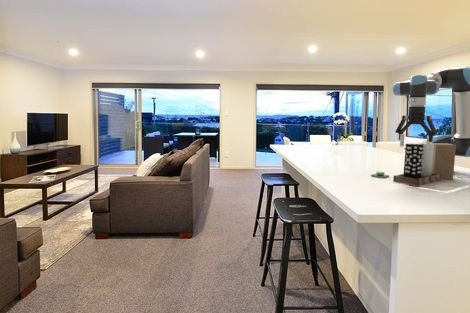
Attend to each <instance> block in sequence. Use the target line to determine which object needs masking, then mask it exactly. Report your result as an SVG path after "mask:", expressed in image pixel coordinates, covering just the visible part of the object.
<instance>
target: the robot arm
mask: <svg viewBox="0 0 470 313" xmlns="http://www.w3.org/2000/svg"><path fill="white" fill-rule="evenodd" d="M440 89H452V91H451V92H452V93H453V94H454V96H455V129H456V130H455V131H456V133H455V134H454V135H453V134H444V135H443V134H441V135H437V134H438V131H437V129H436V127H435V124H434V122H433V120H432V118H433V117H432V115H426V104H427V101H426V100H427V96H432V95H436V94H437V93H438V92H439V90H440ZM392 93H393V95H394V96H399V97H403V96H409V100H408V106H409V107H408V115H402V116H401V120H400V122H399V123H398V125H397V127H396V129H395V130H394V131H395V133H396V134H398V141H399V147H404V146H405V132H406V131H407V130H408V128H410V126H411V125H419V126H421V127H422V128H423V130H424V131H425V132H426V133H427V134H428V135H426V142H425V143H426V149H429V148H430V144H431V143H448V144H453V145H456V150H455V157H464V158H470V66H462V67H455V68H444V69H442V70H438V71H434V72H431V73H429V74H428V75H426V74H415V75H412V76H411V77H410V80H406V81H398V82H397V81H396V82H394V84H393V86H392ZM407 120H408V121H407ZM425 120H426V122H427V123H426V122H425ZM405 123H406V124H405ZM427 124H428V125H427Z"/></svg>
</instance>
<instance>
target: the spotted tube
mask: <svg viewBox="0 0 470 313" xmlns="http://www.w3.org/2000/svg"><path fill="white" fill-rule="evenodd" d="M404 146H405V147H404V149H405V150H404V160H403V161H404V162H403V173H402V174H403V177H408V178H414V179H420V178H421V172H422V159H423V146H424V145H423V144H417V143H405V145H404Z"/></svg>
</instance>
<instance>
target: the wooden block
mask: <svg viewBox="0 0 470 313" xmlns="http://www.w3.org/2000/svg"><path fill="white" fill-rule="evenodd" d="M455 150H456V145H453V144H448V143H434V153H433V165H432V173H434V174H441V180H440V181H442V180H447V181H454V174H455V173H454V172H455V171H454V170H455V160H456V156H455Z"/></svg>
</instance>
